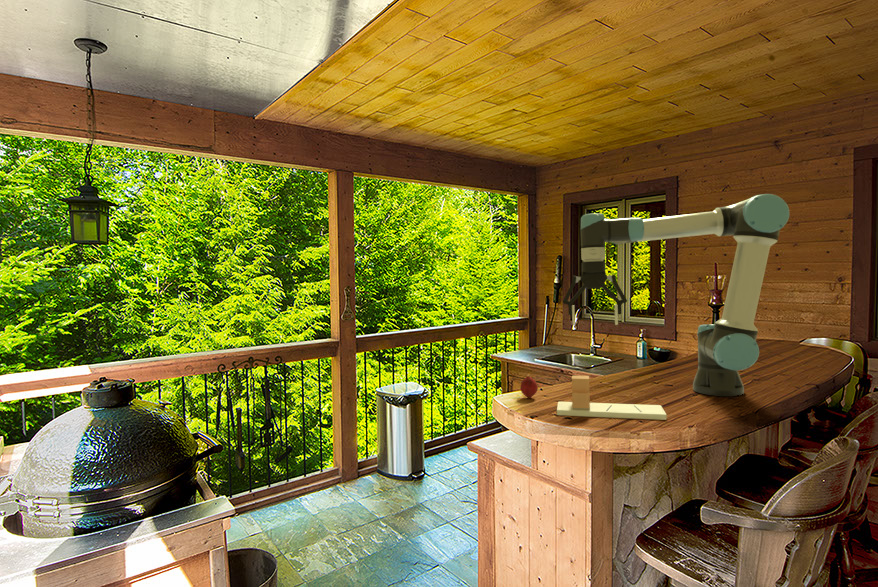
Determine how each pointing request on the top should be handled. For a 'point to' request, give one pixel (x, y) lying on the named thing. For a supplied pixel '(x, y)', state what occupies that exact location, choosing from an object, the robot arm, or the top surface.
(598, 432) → the top surface
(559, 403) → the board
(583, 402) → the block
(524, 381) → the onion
